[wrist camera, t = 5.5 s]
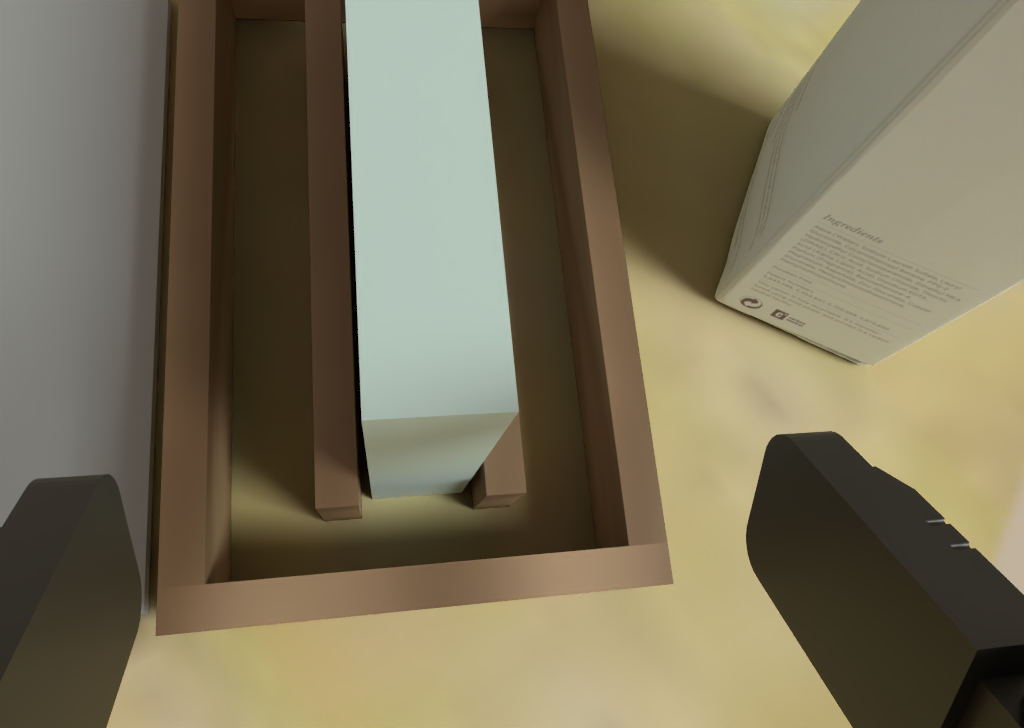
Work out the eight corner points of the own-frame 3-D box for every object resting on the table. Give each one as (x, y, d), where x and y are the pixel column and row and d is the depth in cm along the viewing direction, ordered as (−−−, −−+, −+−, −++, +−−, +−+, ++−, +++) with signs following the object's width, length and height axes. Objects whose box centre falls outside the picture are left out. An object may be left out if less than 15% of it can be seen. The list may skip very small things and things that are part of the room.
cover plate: (372, 499, 21) (362, 420, 12) (354, 74, 25) (335, -239, 16) (461, 492, 22) (518, 411, 12) (430, 76, 26) (456, -228, 16)
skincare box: (865, 373, 25) (1486, 80, 11) (698, 299, 25) (1109, -96, 11) (914, 171, 28) (1459, -270, 14) (764, 103, 27) (1160, -414, 13)
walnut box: (188, 630, 20) (155, 635, 17) (204, -8, 25) (181, -86, 22) (635, 585, 22) (673, 584, 19) (558, 6, 27) (578, -63, 24)
